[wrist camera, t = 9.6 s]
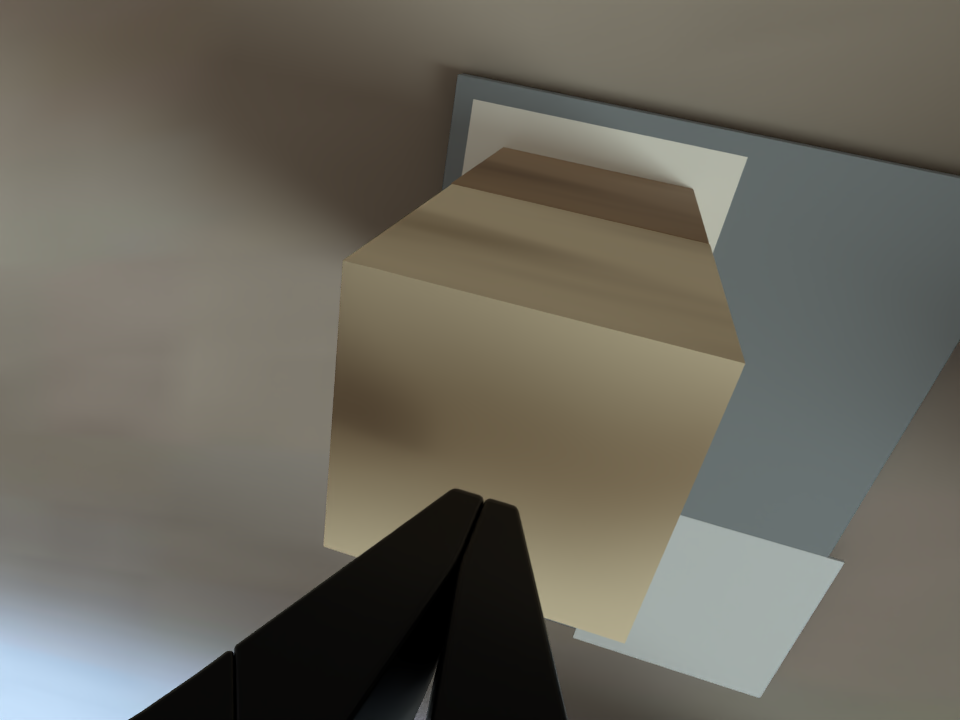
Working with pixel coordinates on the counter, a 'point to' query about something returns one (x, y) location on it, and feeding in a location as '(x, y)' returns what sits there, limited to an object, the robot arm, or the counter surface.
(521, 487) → the maple cube
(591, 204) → the walnut cube
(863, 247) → the mat
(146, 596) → the counter surface
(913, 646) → the counter surface
